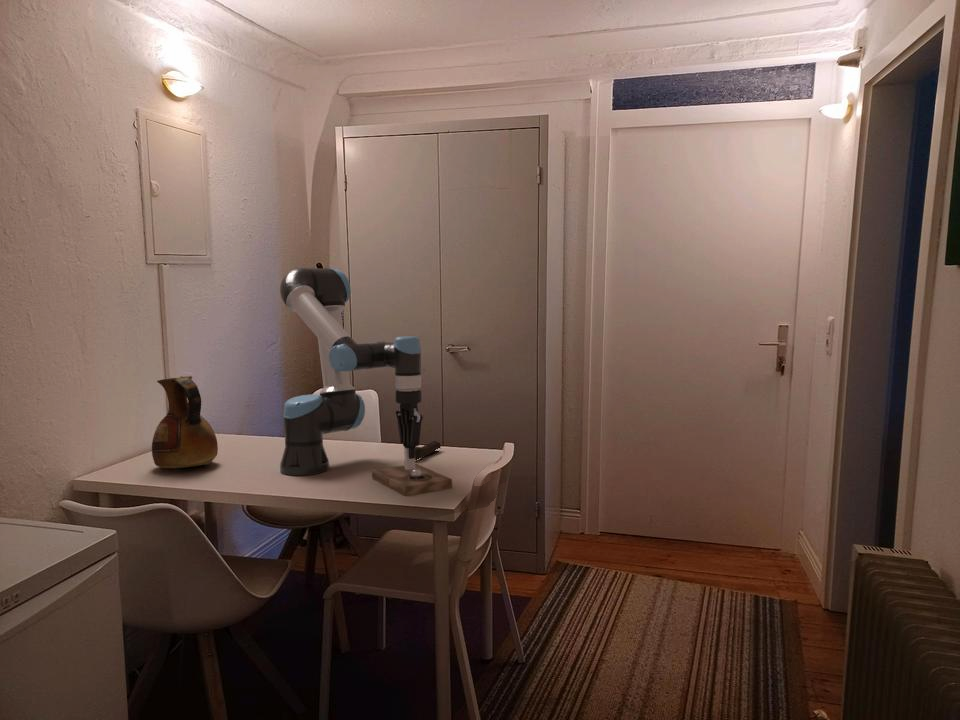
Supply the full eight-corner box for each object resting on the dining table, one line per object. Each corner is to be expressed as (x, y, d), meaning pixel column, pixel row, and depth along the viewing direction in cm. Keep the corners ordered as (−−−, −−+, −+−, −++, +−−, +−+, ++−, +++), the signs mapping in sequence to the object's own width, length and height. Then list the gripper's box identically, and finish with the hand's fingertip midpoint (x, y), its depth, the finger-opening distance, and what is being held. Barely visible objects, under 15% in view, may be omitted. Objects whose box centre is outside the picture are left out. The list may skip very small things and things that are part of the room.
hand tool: (431, 451, 248) (430, 438, 248) (441, 452, 246) (440, 439, 246) (403, 463, 231) (402, 449, 231) (413, 464, 229) (413, 450, 229)
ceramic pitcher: (192, 457, 239) (188, 371, 237) (232, 464, 229) (228, 374, 226) (139, 470, 222) (134, 377, 220) (179, 478, 212) (175, 380, 209)
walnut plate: (404, 495, 191) (404, 486, 191) (372, 478, 210) (372, 470, 210) (451, 487, 200) (451, 479, 199) (416, 471, 218) (416, 463, 218)
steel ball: (414, 479, 199) (412, 468, 200) (410, 481, 202) (407, 471, 203) (424, 477, 201) (422, 467, 202) (420, 480, 204) (417, 469, 204)
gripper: (430, 390, 200) (431, 471, 202) (409, 386, 210) (411, 462, 212) (406, 392, 196) (408, 475, 198) (387, 388, 206) (388, 466, 208)
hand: (410, 468), depth 205 cm, fingers closed
